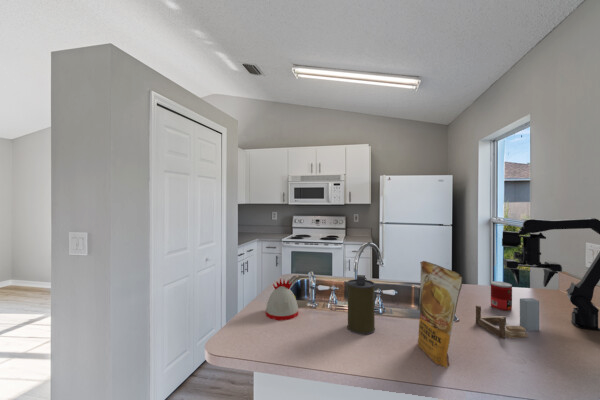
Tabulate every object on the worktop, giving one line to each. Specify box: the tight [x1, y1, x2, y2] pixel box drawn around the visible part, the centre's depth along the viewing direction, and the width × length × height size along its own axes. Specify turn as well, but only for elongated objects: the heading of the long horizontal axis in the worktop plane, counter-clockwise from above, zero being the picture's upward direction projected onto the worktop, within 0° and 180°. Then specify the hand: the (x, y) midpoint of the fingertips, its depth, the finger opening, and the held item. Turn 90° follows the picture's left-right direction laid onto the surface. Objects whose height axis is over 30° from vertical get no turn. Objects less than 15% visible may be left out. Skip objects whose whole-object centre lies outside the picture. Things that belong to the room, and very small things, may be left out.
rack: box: [475, 305, 507, 340], centre depth 109 cm, size 12×13×7 cm
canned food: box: [490, 280, 513, 312], centre depth 131 cm, size 8×8×11 cm
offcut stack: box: [505, 325, 529, 339], centre depth 104 cm, size 7×4×3 cm, turn 96°
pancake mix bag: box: [417, 260, 463, 370], centre depth 92 cm, size 7×19×28 cm, turn 5°
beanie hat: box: [265, 278, 299, 321], centre depth 124 cm, size 14×14×15 cm
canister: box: [346, 274, 376, 336], centre depth 110 cm, size 11×10×20 cm
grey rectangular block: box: [519, 297, 540, 332], centre depth 110 cm, size 5×3×11 cm, turn 96°
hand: (531, 285), depth 122 cm, fingers open, 9 cm apart
